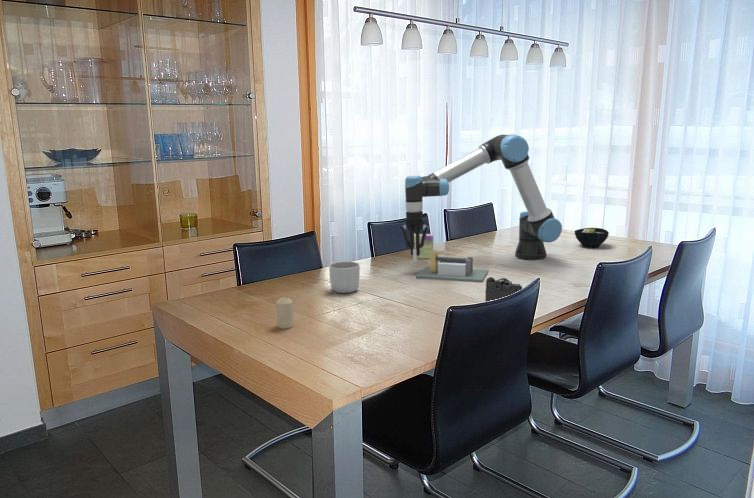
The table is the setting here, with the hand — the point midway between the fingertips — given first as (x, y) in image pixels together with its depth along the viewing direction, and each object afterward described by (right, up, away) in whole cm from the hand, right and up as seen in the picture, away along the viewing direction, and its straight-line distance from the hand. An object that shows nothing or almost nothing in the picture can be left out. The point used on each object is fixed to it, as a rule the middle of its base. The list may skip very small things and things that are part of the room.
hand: (415, 262), depth 266 cm
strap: (+16, +1, -7) cm, 18 cm away
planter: (-31, -11, -26) cm, 42 cm away
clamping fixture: (+16, -6, -5) cm, 18 cm away
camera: (+31, -15, -48) cm, 59 cm away
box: (+6, +2, +31) cm, 32 cm away
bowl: (+97, +7, +48) cm, 108 cm away
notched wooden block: (+10, -4, -3) cm, 11 cm away
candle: (-49, -20, -67) cm, 85 cm away
